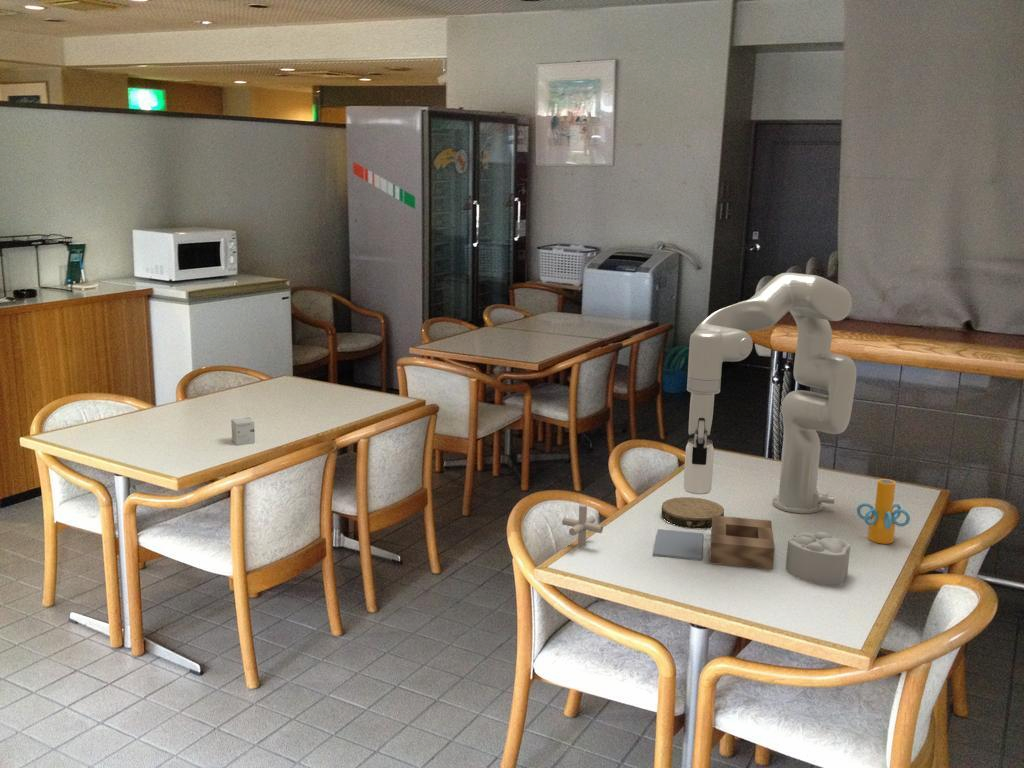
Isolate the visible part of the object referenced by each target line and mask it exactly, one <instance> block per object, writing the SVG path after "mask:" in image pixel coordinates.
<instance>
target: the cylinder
mask: <svg viewBox="0 0 1024 768" xmlns="http://www.w3.org/2000/svg"><path fill="white" fill-rule="evenodd" d="M895 490H896V481H895V480H892V479H889V478H880V479H878V480H877V486H876V496H875V504H874V506H873V505H872V504H870V503H868V502H863V503H860V504H858V506H857V508H856V513H857V516H858V517H859V518H860V519H862V520H864V523H865V524H866V525H867V526H868V529H867V530H868V531H867V539H868V540H869V541H871V542H873V543H876V544H883V545H887V544H892V543H893V542H894V540H895V531H896V526H897V527H904V526H907V525H908V524H909V523H910V521H911V516H910V514H909V512H908V511H907V510H904V509H902V507H901V505H900V504H899V503H894V501H895V492H896V491H895ZM863 507H867V508H869V509H868V510H867V511H866V513H865V515H863V514H862V513H861V509H862V508H863ZM894 508H897V509H895V510H894ZM901 514H904V515H905V518H906V520H905V521H904V522H898V521H897V520H898V519H899V518H900V516H901Z"/></svg>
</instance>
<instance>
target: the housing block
mask: <svg viewBox="0 0 1024 768" xmlns="http://www.w3.org/2000/svg"><path fill="white" fill-rule="evenodd" d="M772 525H773V523H772V520H768V519H757V518H746V517H735V516H725V515H724V516H714V515H712V528H711V530H710V531H711V532H710V547H709V548H710V550H709V564H715V565H717V564H718V565H724V566H725V565H727V566H737V567H747V568H757V569H766V570H774V558H775V542H774V541H775V540H774V534H773V526H772Z"/></svg>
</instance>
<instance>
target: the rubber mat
mask: <svg viewBox="0 0 1024 768" xmlns="http://www.w3.org/2000/svg"><path fill="white" fill-rule="evenodd" d="M703 537H704V536H703V533H702V532H694V531H693V532H691V531H683V530H682V531H681V530H670V529H663V528H658V529H657V532H656V537H655V542H654V547H653V552H652V557H664V558H675V559H683V560H692V561H693V560H694V561H701V560H702V548H703V539H704V538H703Z"/></svg>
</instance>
